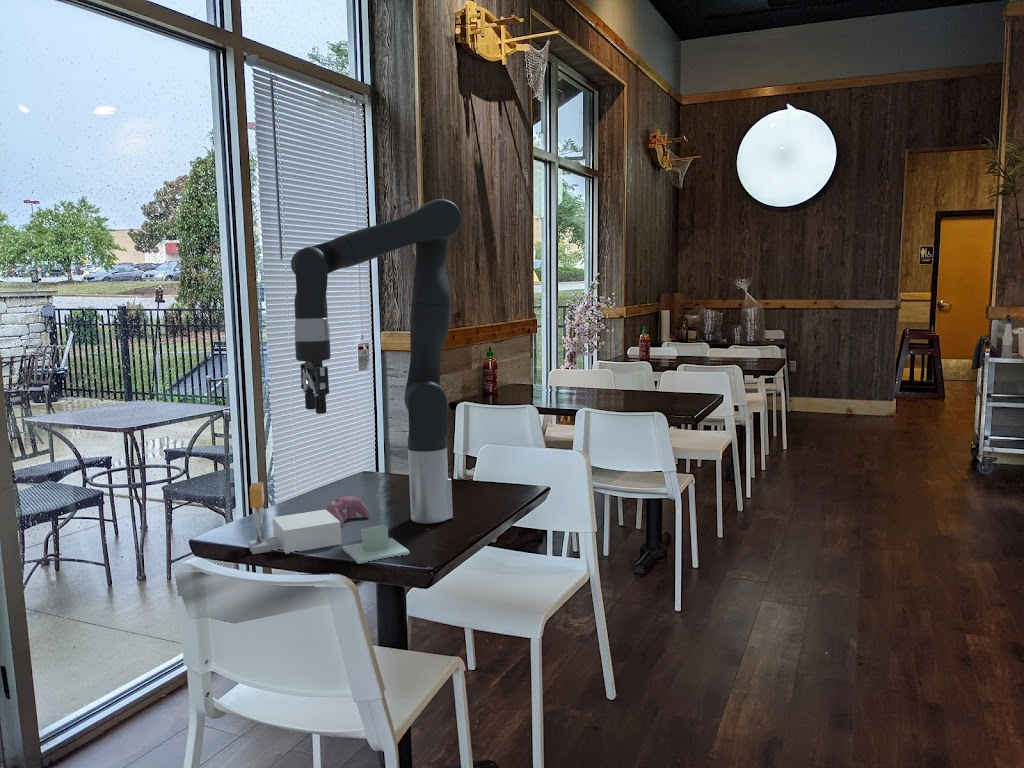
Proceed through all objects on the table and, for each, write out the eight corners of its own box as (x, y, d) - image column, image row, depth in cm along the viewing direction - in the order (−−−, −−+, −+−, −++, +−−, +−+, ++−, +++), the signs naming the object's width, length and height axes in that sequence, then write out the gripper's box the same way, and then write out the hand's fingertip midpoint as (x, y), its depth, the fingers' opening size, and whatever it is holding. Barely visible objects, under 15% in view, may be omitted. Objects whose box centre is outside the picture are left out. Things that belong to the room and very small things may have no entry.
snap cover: (391, 542, 177) (390, 517, 176) (409, 556, 167) (408, 529, 166) (342, 551, 172) (341, 525, 171) (358, 566, 162) (356, 538, 161)
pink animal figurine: (362, 522, 198) (351, 495, 199) (373, 516, 195) (362, 489, 196) (330, 532, 190) (320, 504, 191) (341, 526, 187) (331, 498, 188)
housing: (326, 530, 185) (325, 509, 185) (341, 544, 175) (340, 521, 174) (246, 543, 177) (244, 521, 177) (256, 558, 167) (254, 535, 166)
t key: (256, 533, 178) (252, 479, 177) (267, 532, 179) (263, 478, 178) (253, 546, 169) (249, 489, 168) (265, 544, 170) (261, 488, 169)
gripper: (338, 339, 174) (341, 413, 175) (320, 337, 186) (323, 406, 188) (303, 340, 170) (307, 416, 172) (287, 338, 183) (291, 409, 184)
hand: (315, 411), depth 180 cm, fingers open, 8 cm apart
